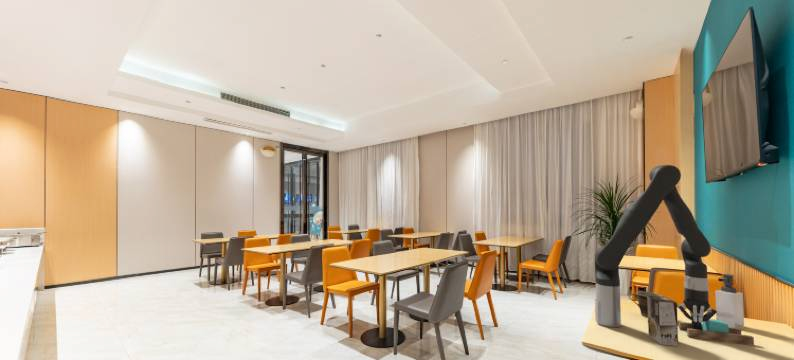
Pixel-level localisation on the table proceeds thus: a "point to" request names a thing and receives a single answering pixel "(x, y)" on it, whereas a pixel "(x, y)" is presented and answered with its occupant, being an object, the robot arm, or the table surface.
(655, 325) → the coffee box
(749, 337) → the chute
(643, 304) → the ceramic cup
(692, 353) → the table surface
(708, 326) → the block
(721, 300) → the soap dispenser
